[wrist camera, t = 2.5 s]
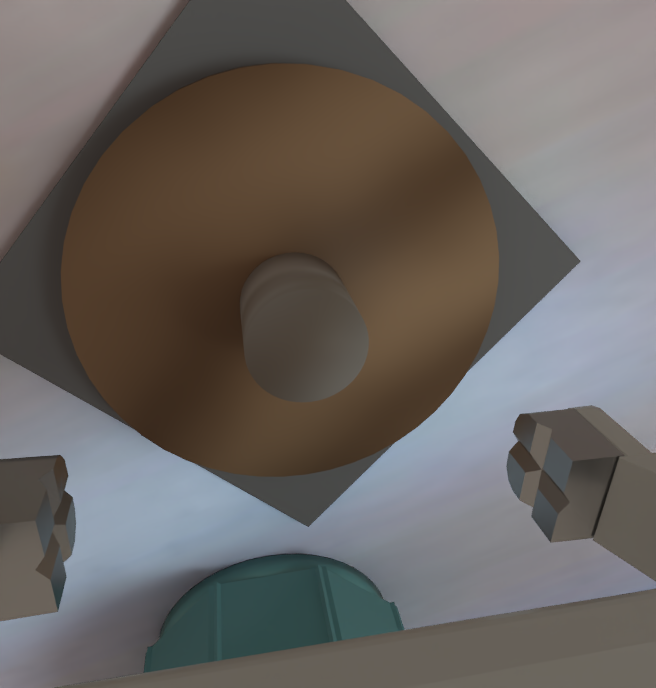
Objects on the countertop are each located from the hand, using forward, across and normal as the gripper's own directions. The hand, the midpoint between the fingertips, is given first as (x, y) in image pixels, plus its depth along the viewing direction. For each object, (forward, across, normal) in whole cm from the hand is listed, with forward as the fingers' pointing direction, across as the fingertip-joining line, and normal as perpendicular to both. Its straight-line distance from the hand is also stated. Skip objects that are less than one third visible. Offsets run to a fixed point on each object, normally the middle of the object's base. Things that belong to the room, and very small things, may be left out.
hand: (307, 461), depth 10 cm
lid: (+9, -1, 0) cm, 9 cm away
